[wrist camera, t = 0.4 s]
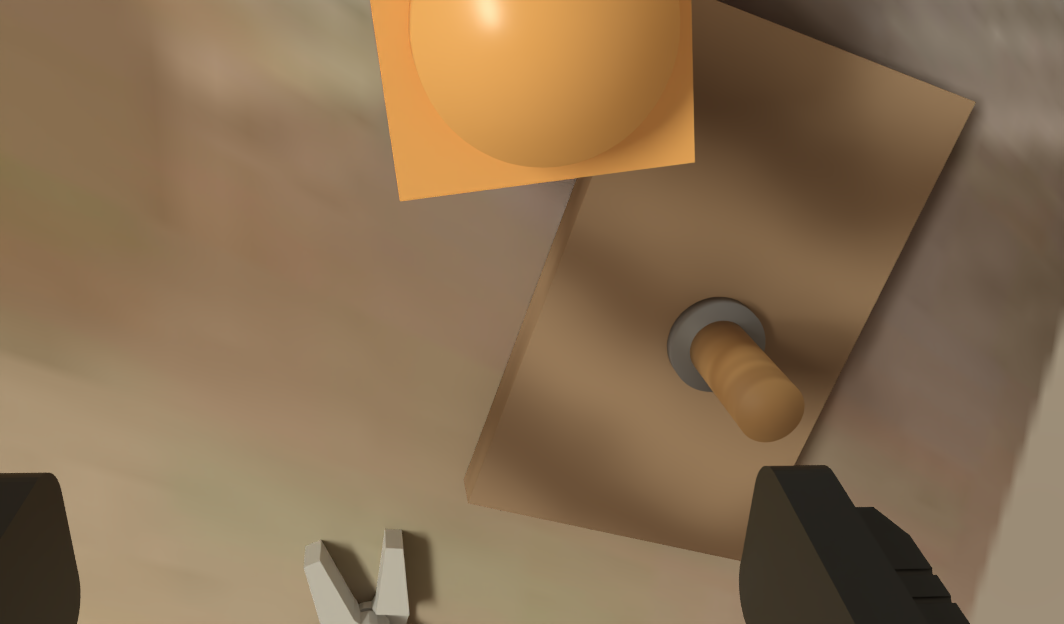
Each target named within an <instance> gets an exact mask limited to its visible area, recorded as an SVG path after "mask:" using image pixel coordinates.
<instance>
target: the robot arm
mask: <svg viewBox="0 0 1064 624" xmlns="http://www.w3.org/2000/svg"><path fill="white" fill-rule="evenodd" d="M739 591H740V600H741V607H742V612H743V615H744V619H745V622H746V624H970V623H969V622H968V620H967V619H966V617H965V616H964V614H963V613H962V611H961V610H960V608H959V607H958V605H957V604H956V603H952V602H951V595H950V594H949V592H948V591H947V589H946V588H945V586H944V585H943V583H942V582H941V581H940V579H939V578H938V576H937V575H933V574H932V567H931V566H930V564H929V563H928V562H927V560H926V559H925V557H924V556H923V554H922V553H921V551H920V550H919V548H918V547H917V545H916V544H915V542H914V541H913V540H912V538H911V537H910V535H909V534H907V533H906V532H905V531H903V530H902V529H901V528H900V527H898V526H897V525H896V524H894V523H893V522H892V521H891V520H889V519H888V518H887V517H885V516H884V515H883V514H882V513H880V512H879V511H878V510H876V509H875V508H874V507H855V506H854V504H853V503H852V501H851V500H850V498H849V496H848V495H847V493H846V492H845V490H844V489H843V487H842V485H841V484H840V482H839V481H838V479H837V477H836V476H835V474H834V473H833V471H832V470H831V469H830V468H829V467H828V466H825V465H799V466H763V467H762V468H761V469H760V470H759V472H758V474H757V477H756V481H755V486H754V492H753V497H752V503H751V508H750V514H749V519H748V525H747V530H746V536H745V541H744V547H743V553H742V558H741V564H740V572H739ZM79 609H80V581H79V575H78V570H77V565H76V560H75V555H74V550H73V545H72V541H71V536H70V531H69V526H68V521H67V516H66V511H65V506H64V501H63V496H62V492H61V488H60V485H59V482H58V480H57V478H56V477H55V476H54V475H53V474H51V473H0V624H77V621H78V616H79Z"/></svg>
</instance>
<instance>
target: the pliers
mask: <svg viewBox="0 0 1064 624" xmlns="http://www.w3.org/2000/svg"><path fill="white" fill-rule="evenodd" d="M304 570H305V574H306V577H307V580H308V584H309V587H310V591H311V594H312V597H313V601H314V604H315V608H316V611H317V614H318V618H319V621H320V624H407V619H408V616H409V601H408V590H407V580H406V569H405V559H404V549H403V538H402V530H397V529H385V532H384V539H383V546H382V553H381V560H380V567H379V574H378V581H377V588H376V594H375V596H374V598H373V600H372V601H368V602H362V603H360V604H358V602H357V600H356V599H355V598H354V596H353V595H352V593H351V591H350V589H349V588H348V586H347V584H346V582H345V581H344V579H343V577H342V575H341V574H340V572H339V570H338V568H337V567H336V565H335V563H334V561H333V560H332V558H331V556H330V554H329V553H328V551H327V549H326V547H325V545H324V544H323V542H322V540H319V541H316V542H314V543H312V544H309V545H307V546H305V558H304Z"/></svg>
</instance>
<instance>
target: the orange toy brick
mask: <svg viewBox="0 0 1064 624" xmlns="http://www.w3.org/2000/svg"><path fill="white" fill-rule="evenodd" d="M370 3H371V10H372V17H373V23H374V30H375V37H376V43H377V50H378V57H379V64H380V70H381V77H382V84H383V91H384V97H385V104H386V111H387V118H388V124H389V131H390V138H391V144H392V151H393V158H394V165H395V171H396V178H397V185H398V192H399V198H400V201H406V200H413V199H421V198H428V197H436V196H444V195H451V194H459V193H466V192H474V191H482V190H489V189H497V188H504V187H512V186H520V185H527V184H535V183H542V182H550V181H558V180H565V179H573V178H580V177H588V176H596V175H603V174H611V173H618V172H626V171H633V170H641V169H649V168H656V167H664V166H671V165H679V164H687V163H694V162H695V147H694V99H693V52H692V4H691V0H370Z"/></svg>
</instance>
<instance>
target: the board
mask: <svg viewBox="0 0 1064 624" xmlns="http://www.w3.org/2000/svg"><path fill="white" fill-rule="evenodd" d="M691 4H692V52H693V99H694V147H695V162H694V163H687V164H679V165H671V166H664V167H656V168H649V169H641V170H633V171H626V172H618V173H611V174H603V175H596V176H588V177H580V178H577V180H576V182H575V185H574V188H573V190H572V193H571V196H570V198H569V201H568V204H567V206H566V209H565V212H564V214H563V217H562V220H561V222H560V225H559V228H558V230H557V233H556V236H555V238H554V241H553V244H552V246H551V249H550V252H549V254H548V257H547V259H546V262H545V265H544V267H543V270H542V273H541V275H540V278H539V281H538V283H537V286H536V289H535V291H534V294H533V297H532V299H531V302H530V305H529V307H528V310H527V313H526V315H525V318H524V321H523V323H522V326H521V329H520V331H519V334H518V337H517V339H516V342H515V345H514V347H513V350H512V353H511V355H510V358H509V361H508V363H507V366H506V369H505V371H504V374H503V377H502V379H501V382H500V385H499V387H498V390H497V393H496V395H495V398H494V401H493V403H492V406H491V409H490V411H489V414H488V417H487V419H486V422H485V425H484V427H483V430H482V433H481V435H480V438H479V441H478V443H477V446H476V449H475V451H474V454H473V457H472V459H471V462H470V465H469V467H468V470H467V473H466V475H465V478H464V483H465V489H466V494H467V499H468V503H470V504H474V505H479V506H484V507H489V508H493V509H498V510H503V511H507V512H512V513H517V514H522V515H526V516H531V517H536V518H541V519H545V520H550V521H555V522H559V523H564V524H569V525H574V526H578V527H583V528H588V529H592V530H597V531H602V532H607V533H611V534H616V535H621V536H626V537H630V538H635V539H640V540H644V541H649V542H654V543H659V544H663V545H668V546H673V547H677V548H682V549H687V550H692V551H696V552H701V553H706V554H710V555H715V556H720V557H725V558H729V559H734V560H739V561H741V558H742V553H743V547H744V541H745V536H746V530H747V525H748V519H749V514H750V508H751V503H752V497H753V492H754V486H755V481H756V477H757V474H758V472H759V470H760V469H761V468H762V467H763V466H794V464H795V462H796V460H797V458H798V456H799V454H800V452H801V450H802V448H803V447H804V445H805V443H806V441H807V439H808V437H809V435H810V433H811V431H812V429H813V427H814V425H815V423H816V421H817V419H818V417H819V415H820V413H821V411H822V409H823V407H824V405H825V403H826V401H827V399H828V397H829V395H830V393H831V391H832V389H833V387H834V385H835V383H836V381H837V379H838V377H839V375H840V373H841V371H842V369H843V367H844V365H845V363H846V361H847V359H848V357H849V355H850V353H851V351H852V349H853V347H854V345H855V343H856V341H857V339H858V337H859V335H860V333H861V331H862V329H863V327H864V325H865V323H866V321H867V319H868V317H869V315H870V313H871V311H872V309H873V307H874V305H875V303H876V301H877V299H878V297H879V295H880V293H881V291H882V289H883V287H884V285H885V283H886V281H887V279H888V277H889V275H890V273H891V271H892V269H893V267H894V265H895V263H896V261H897V259H898V257H899V255H900V253H901V251H902V249H903V247H904V245H905V243H906V241H907V239H908V237H909V235H910V233H911V231H912V229H913V227H914V225H915V223H916V221H917V219H918V217H919V215H920V213H921V211H922V209H923V207H924V205H925V203H926V201H927V199H928V197H929V195H930V193H931V191H932V189H933V187H934V185H935V183H936V181H937V179H938V177H939V175H940V173H941V171H942V169H943V167H944V165H945V163H946V161H947V159H948V157H949V155H950V153H951V151H952V149H953V147H954V145H955V143H956V141H957V139H958V137H959V135H960V133H961V131H962V129H963V127H964V125H965V123H966V121H967V119H968V117H969V115H970V113H971V111H972V109H973V107H974V105H975V103H976V102H974V101H971V100H969V99H966V98H964V97H961V96H959V95H956V94H954V93H951V92H949V91H946V90H943V89H941V88H938V87H936V86H933V85H931V84H928V83H926V82H923V81H921V80H918V79H915V78H913V77H910V76H908V75H905V74H903V73H900V72H898V71H895V70H893V69H890V68H887V67H885V66H882V65H880V64H877V63H875V62H872V61H870V60H867V59H865V58H862V57H859V56H857V55H854V54H852V53H849V52H847V51H844V50H842V49H839V48H837V47H834V46H831V45H829V44H826V43H824V42H821V41H819V40H816V39H814V38H811V37H809V36H806V35H803V34H801V33H798V32H796V31H793V30H791V29H788V28H786V27H783V26H781V25H778V24H775V23H773V22H770V21H768V20H765V19H763V18H760V17H758V16H755V15H753V14H750V13H747V12H745V11H742V10H740V9H737V8H735V7H732V6H730V5H727V4H725V3H722V2H720V1H717V0H691Z"/></svg>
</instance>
